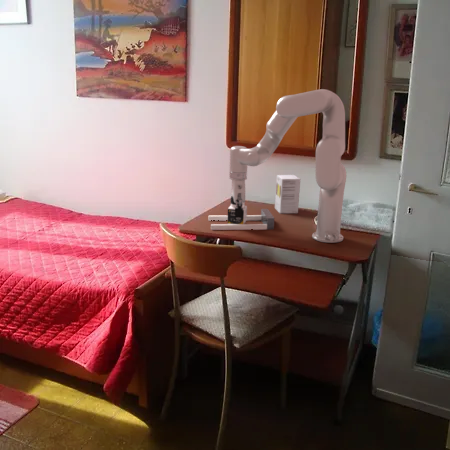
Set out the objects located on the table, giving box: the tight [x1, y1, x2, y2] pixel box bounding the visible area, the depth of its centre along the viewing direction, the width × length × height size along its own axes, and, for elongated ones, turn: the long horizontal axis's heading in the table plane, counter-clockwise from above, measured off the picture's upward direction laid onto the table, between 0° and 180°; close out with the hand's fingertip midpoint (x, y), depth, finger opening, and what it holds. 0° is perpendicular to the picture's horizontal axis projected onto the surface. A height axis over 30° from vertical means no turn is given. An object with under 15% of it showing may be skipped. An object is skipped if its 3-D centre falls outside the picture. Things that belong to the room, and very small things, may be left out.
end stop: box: [260, 208, 275, 230], centre depth 236 cm, size 15×3×5 cm, turn 6°
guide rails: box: [207, 214, 268, 231], centre depth 235 cm, size 15×24×2 cm, turn 96°
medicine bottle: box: [227, 195, 248, 224], centre depth 233 cm, size 7×7×12 cm
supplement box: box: [274, 174, 301, 214], centre depth 257 cm, size 10×9×17 cm
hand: (237, 214), depth 234 cm, fingers closed on medicine bottle, 9 cm apart
